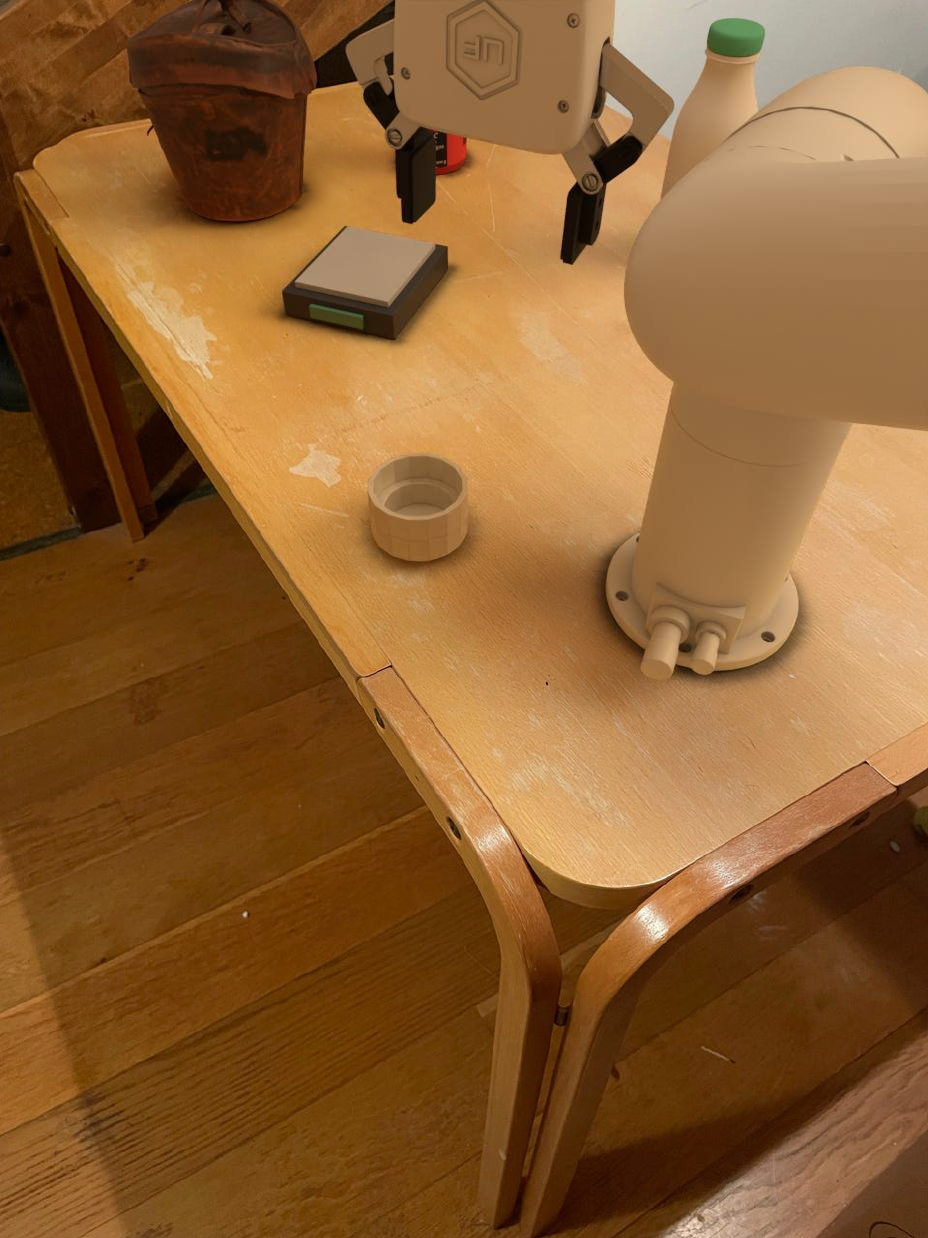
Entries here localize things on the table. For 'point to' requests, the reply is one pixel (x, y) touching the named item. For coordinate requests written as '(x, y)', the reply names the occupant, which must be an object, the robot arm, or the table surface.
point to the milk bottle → (716, 96)
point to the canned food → (449, 151)
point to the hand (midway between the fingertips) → (495, 232)
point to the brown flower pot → (227, 103)
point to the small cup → (418, 506)
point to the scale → (366, 281)
